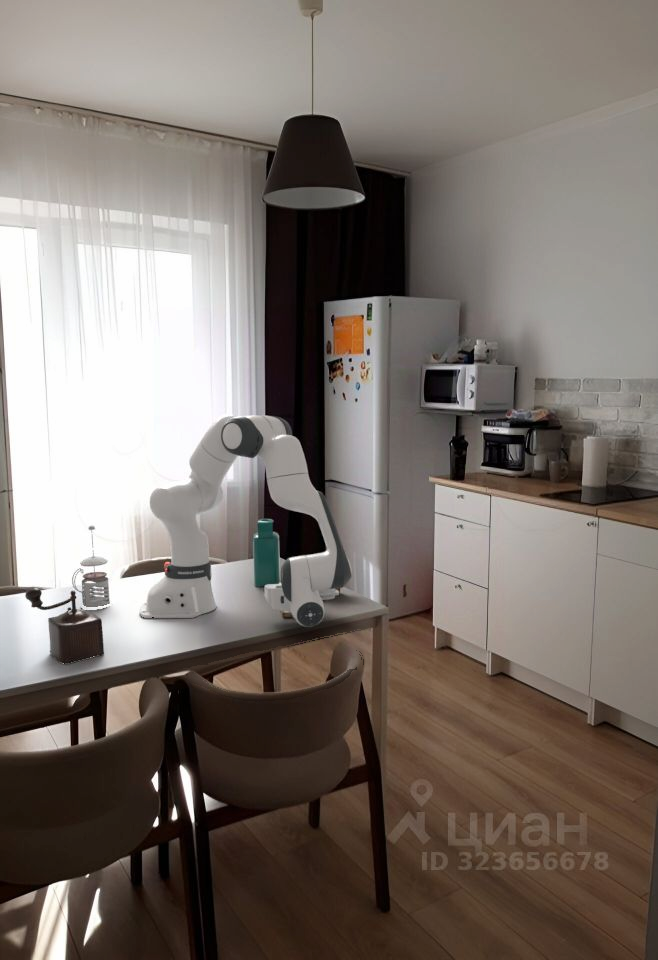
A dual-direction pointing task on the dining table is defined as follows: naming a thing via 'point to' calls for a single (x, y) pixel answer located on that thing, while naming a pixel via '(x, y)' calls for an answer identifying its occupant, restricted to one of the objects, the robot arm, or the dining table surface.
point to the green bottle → (266, 554)
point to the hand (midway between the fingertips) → (297, 583)
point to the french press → (94, 577)
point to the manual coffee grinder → (71, 630)
